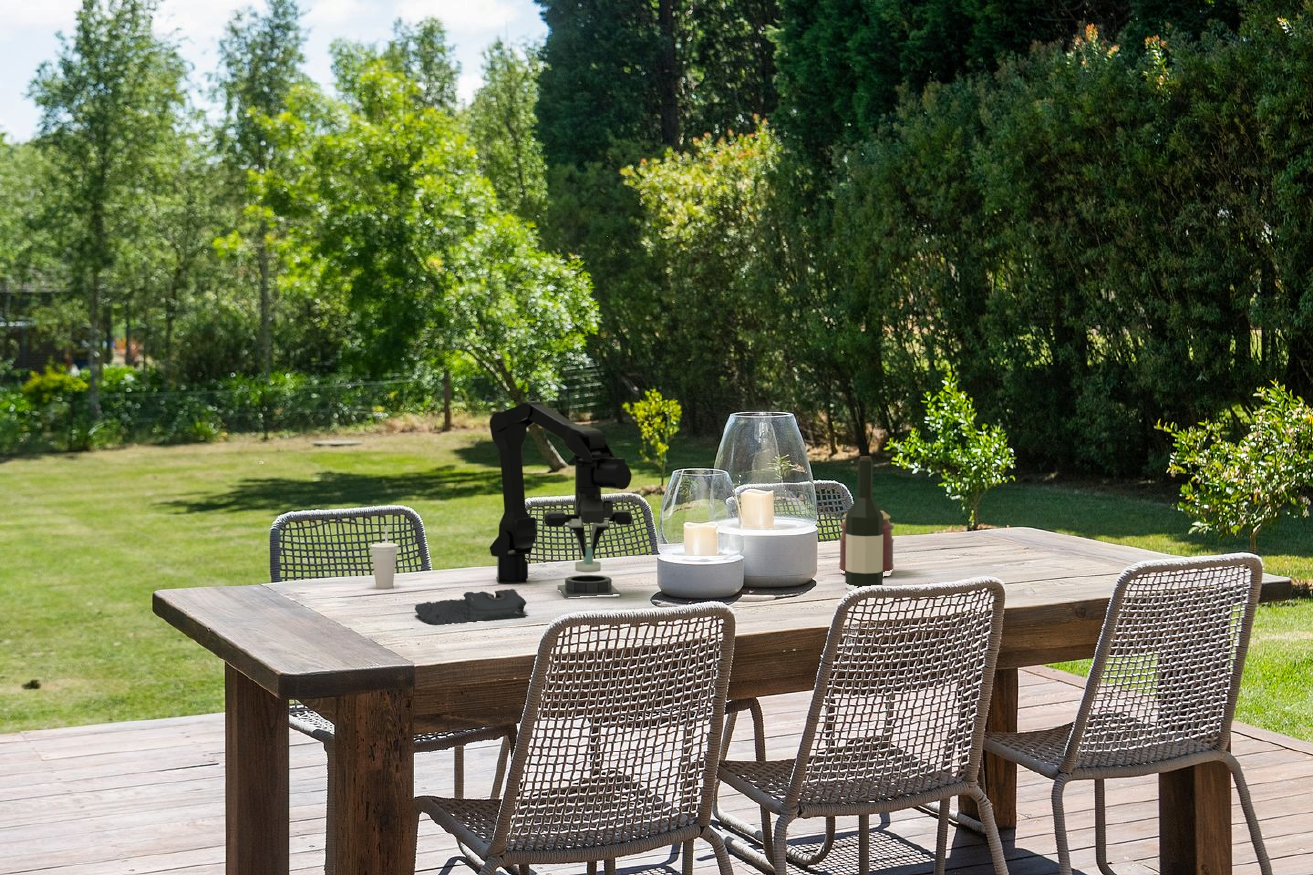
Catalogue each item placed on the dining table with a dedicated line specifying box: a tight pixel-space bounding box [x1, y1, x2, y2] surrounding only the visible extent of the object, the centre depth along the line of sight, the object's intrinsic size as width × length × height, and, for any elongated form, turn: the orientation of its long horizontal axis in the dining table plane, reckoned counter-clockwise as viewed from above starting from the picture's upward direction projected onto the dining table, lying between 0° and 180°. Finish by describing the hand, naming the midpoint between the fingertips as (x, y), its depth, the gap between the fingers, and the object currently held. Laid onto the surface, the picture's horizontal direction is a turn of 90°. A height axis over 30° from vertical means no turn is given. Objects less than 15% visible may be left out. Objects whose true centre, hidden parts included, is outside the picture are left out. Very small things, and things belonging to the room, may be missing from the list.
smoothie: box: [369, 525, 399, 590], centre depth 301 cm, size 6×6×14 cm
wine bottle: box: [844, 455, 884, 588], centre depth 300 cm, size 8×8×30 cm
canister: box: [838, 509, 895, 572], centre depth 320 cm, size 13×13×18 cm
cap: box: [574, 545, 602, 573], centre depth 294 cm, size 6×6×5 cm
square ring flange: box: [557, 574, 621, 599], centre depth 294 cm, size 12×12×3 cm
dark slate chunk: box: [414, 588, 529, 626], centre depth 269 cm, size 15×22×5 cm
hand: (588, 556), depth 294 cm, fingers closed on cap
